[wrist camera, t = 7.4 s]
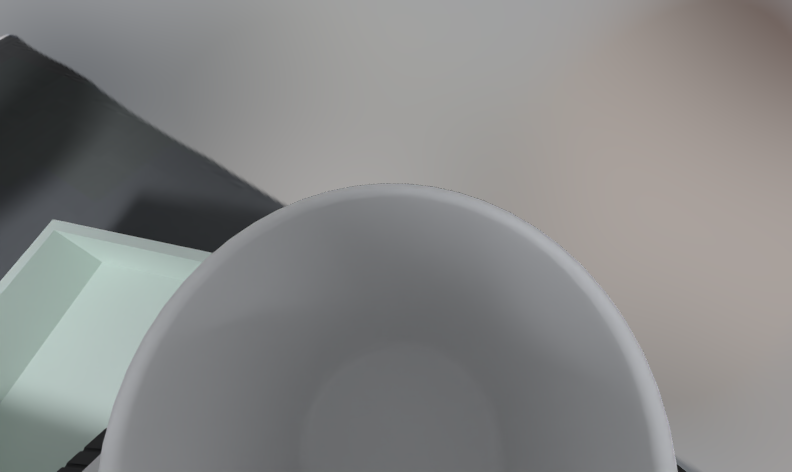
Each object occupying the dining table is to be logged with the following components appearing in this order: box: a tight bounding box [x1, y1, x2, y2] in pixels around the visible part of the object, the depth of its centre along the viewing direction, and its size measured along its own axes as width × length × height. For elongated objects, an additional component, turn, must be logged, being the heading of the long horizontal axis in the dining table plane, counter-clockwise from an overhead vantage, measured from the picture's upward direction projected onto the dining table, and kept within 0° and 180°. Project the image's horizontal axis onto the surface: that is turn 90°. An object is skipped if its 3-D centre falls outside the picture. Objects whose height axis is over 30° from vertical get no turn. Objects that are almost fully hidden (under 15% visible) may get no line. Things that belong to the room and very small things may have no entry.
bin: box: [0, 219, 212, 472], centre depth 25 cm, size 18×18×6 cm
